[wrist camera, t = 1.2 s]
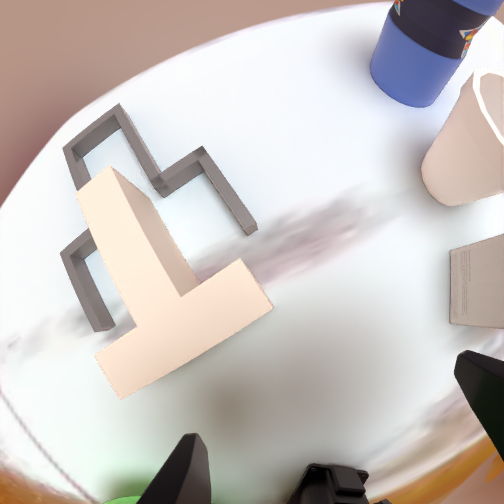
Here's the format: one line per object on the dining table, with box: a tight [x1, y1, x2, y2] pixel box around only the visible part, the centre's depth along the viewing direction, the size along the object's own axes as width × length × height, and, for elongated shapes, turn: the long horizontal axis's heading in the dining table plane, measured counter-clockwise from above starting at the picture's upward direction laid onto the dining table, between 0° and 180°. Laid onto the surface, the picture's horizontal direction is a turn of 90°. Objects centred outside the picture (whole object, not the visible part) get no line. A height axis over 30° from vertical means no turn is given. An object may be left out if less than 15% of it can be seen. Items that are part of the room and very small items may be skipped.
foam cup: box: [421, 67, 504, 207], centre depth 19 cm, size 10×9×13 cm
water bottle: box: [370, 0, 504, 107], centre depth 15 cm, size 9×9×25 cm
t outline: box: [60, 104, 258, 332], centre depth 26 cm, size 20×17×2 cm
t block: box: [75, 165, 273, 400], centre depth 22 cm, size 14×12×8 cm
